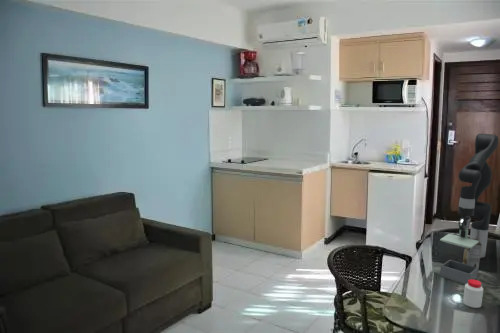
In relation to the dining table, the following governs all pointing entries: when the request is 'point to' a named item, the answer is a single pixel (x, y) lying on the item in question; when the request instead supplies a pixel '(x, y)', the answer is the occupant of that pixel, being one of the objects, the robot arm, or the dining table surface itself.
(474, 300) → the pill bottle
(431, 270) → the dining table surface
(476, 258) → the coffee box
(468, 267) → the parts tub
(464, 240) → the snap lid
